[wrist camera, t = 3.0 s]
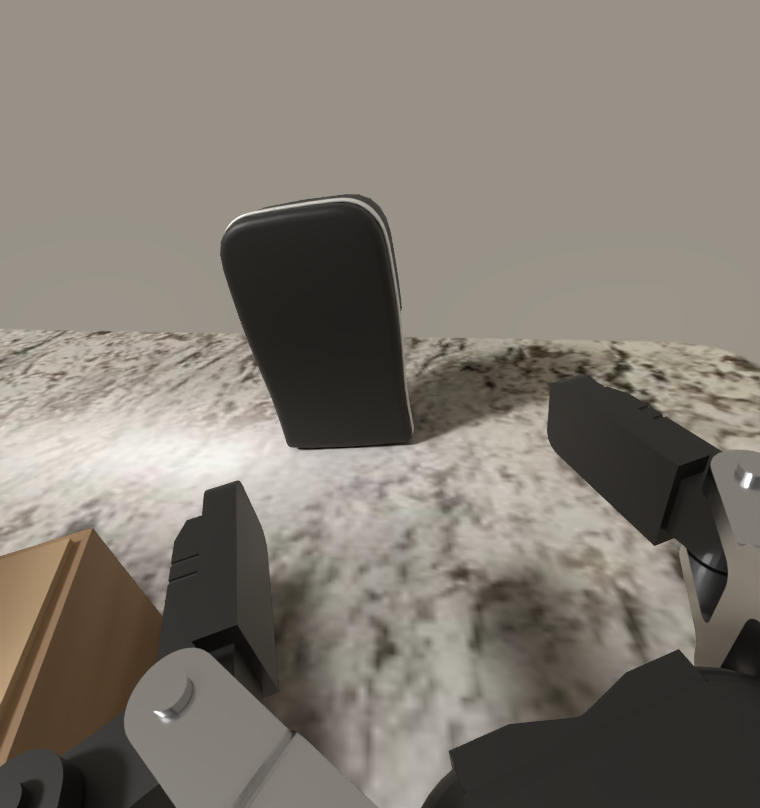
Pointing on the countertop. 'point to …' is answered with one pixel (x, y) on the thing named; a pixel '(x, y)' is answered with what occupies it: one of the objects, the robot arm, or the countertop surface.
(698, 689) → the robot arm
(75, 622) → the wooden box
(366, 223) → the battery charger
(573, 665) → the countertop surface
